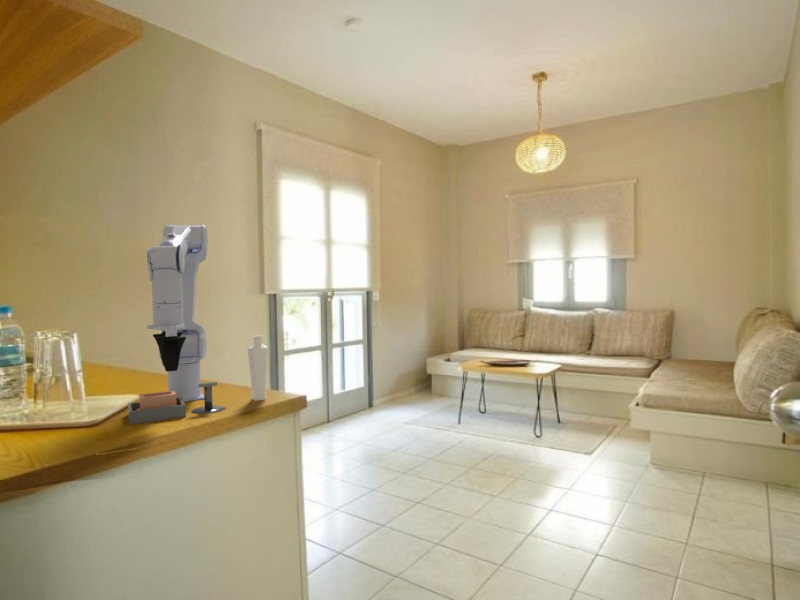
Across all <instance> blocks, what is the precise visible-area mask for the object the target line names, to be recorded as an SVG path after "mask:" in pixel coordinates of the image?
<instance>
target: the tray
mask: <svg viewBox="0 0 800 600" xmlns="http://www.w3.org/2000/svg"><path fill="white" fill-rule="evenodd" d="M176 402H177V405H176V406H168V407H160V408H152V409H144V410H137V409H139V408H140V401H136V402H128V403H127V414H128V415H127V416H128V425H136V424H142V423H143V424H144V423H150V422H151V423H153V422H157V421H158V422H159V421H164V420H172V419H177V418H179V419H181V418H186V416H187V408H186V406H187V405H186V403H185V402H184V401H183V400H182V398H181V397H176Z"/></svg>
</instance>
